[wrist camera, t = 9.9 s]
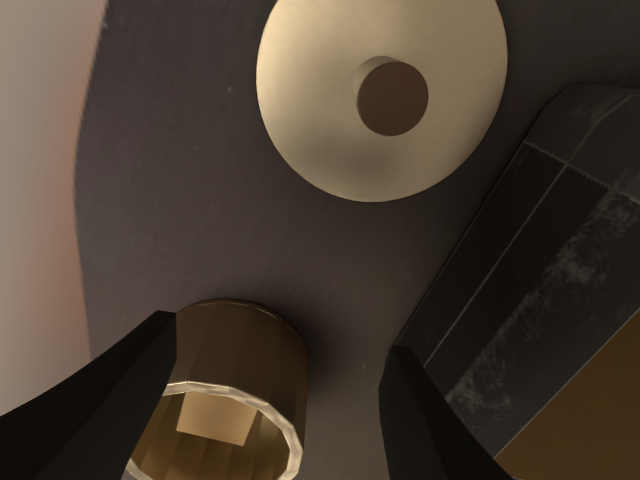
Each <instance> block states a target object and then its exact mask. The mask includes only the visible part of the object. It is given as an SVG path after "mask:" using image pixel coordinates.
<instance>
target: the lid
mask: <svg viewBox="0 0 640 480" xmlns="http://www.w3.org/2000/svg"><path fill="white" fill-rule="evenodd" d="M507 58H508V53H507V41H506V34H505V29H504V24H503V20H502V17H501V14H500V11H499V8H498V6H497V3H496V0H277V1H276V3H275V5H274V6H273V8H272V10H271V12H270V14H269V17H268V19H267V22H266V24H265V27H264V29H263V33H262V36H261V40H260V44H259V48H258V55H257V63H256V89H257V98H258V103H259V108H260V112H261V116H262V119H263V122H264V124H265V127H266V130H267V132H268V134H269V136H270V138H271V140H272V142H273V144H274V146H275V147H276V149H277V150H278V152H279V153H280V154H281V156H282V157H283V159H284V160H285V161H286V162H287V163H288V164H289V165H290V167H291V168H292V169H293V170H294V171H296V172H297V173H298V174H299V175H300V176H301V177H302V178H304V179H305V180H306V181H308V182H309V183H311V184H312V185H314V186H315V187H317V188H319V189H321V190H323V191H325V192H327V193H330V194H332V195H335V196H338V197H341V198H345V199H350V200H354V201H363V202H384V201H391V200H398V199H401V198H405V197H409V196H412V195H415V194H417V193H419V192H422V191H424V190H427V189H428V188H430V187H432V186H434V185H436V184H438V183H439V182H441V181H442V180H444V179H445V178H446V177H448V176H449V175H451V174H452V173H453V172H454V171H455V170H457V169H458V168H459V167H460V166H461V165H462V164H463V163H464V162H465V161H466V160H467V159H468V158H469V157H470V156H471V154H472V153H473V152H474V151H475V150H476V148H477V147H478V146H479V144H480V143H481V141H482V140H483V139H484V137H485V135H486V133H487V132H488V130H489V128H490V126H491V125H492V123H493V120H494V118H495V116H496V113H497V111H498V108H499V105H500V102H501V99H502V95H503V92H504V87H505V81H506V75H507Z"/></svg>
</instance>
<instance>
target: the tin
mask: <svg viewBox="0 0 640 480" xmlns="http://www.w3.org/2000/svg"><path fill="white" fill-rule="evenodd" d="M176 330H177V360H176V363H175V365H174V368H173V371H172V374H171V376H170V379H169V381H168V384H167V387H166V389H165V391H164V393H163V395H162V397H161V399H160V401H159V403H158V405H157V407H156V409H155V411H154V413H153V415H152V416H151V418H150V420H149V422H148V424H147V426H146V428H145V430H144V432H143V434H142V436H141V438H140V440H139V441H138V443H137V445H136V447H135V449H134V451H133V453H132V455H131V457H130V459H129V461H128V463H127V466H126V469H127V471H128V472H130V474H131V475H133V476H134V477H136V478H137V479H139V480H292V479H293V478H294V477H295V476H296V475H297V474H298V472H299V469H300V465H301V460H302V456H303V451H304V437H305V422H306V407H307V392H308V377H309V361H308V354H307V350H306V347H305V344H304V342H303V340H302V338H301V337H300V335H299V333H298V332H297V331H296V330H295V329H294V327H293V326H292V325H291V324H290V323H289V322H287V321H286V320H285V319H284V318H282V317H281V316H280V315H278V314H277V313H275V312H273V311H271V310H269V309H267V308H265V307H263V306H260V305H257V304H254V303H251V302H247V301H242V300H234V299H214V300H207V301H203V302H199V303H196V304H193V305H191V306H188V307H186V308H185V309H183V310H181V311H180V312H178V313H177V314H176ZM186 392H197V393H205V394H213V395H220V396H228V397H230V398H232V399H235V400H237V401H239V402H242V403H244V404H247V405H249V406H251V407H254V408H256V409H258V410H257V413H256V415H255V418H254V420H253V423H252V426H251V428H250V431H249V433H248V436H247V438H246V441H245V443H244V445H243V446H240V445H236V444H232V443H227V442H223V441H219V440H215V439H210V438H206V437H202V436H198V435H193V434H189V433H185V432H181V431H177V430H176V428H177V425H178V421H179V417H180V413H181V409H182V405H183V401H184V397H185V393H186Z"/></svg>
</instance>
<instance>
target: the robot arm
mask: <svg viewBox="0 0 640 480" xmlns="http://www.w3.org/2000/svg"><path fill="white" fill-rule="evenodd" d="M176 360H177V330H176V313H173V312H166V311H160V310H157V311H156V312H154V313H153V314H152V315H150V316H149V317H148V318H147V319H146V320H144V321H143V322H142V323H141V324H140V325H138V326H137V327H136V328H135V329H133V330H132V331H131V332H130V333H128V334H127V335H126V336H125V337H124V338H122V339H121V340H120V341H118V342H117V343H116V344H114V345H113V346H112V347H111V348H109V349H108V350H107V351H105V352H104V353H103V354H101V355H100V356H99V357H97V358H96V359H94V360H93V361H92V362H90V363H89V364H87V365H86V366H85V367H83V368H82V369H80V370H79V371H77V372H76V373H74V374H73V375H71V376H70V377H68V378H67V379H65V380H64V381H62V382H61V383H59V384H58V385H56V386H54V387H53V388H51V389H49V390H48V391H46V392H44V393H43V394H41V395H39V396H38V397H36V398H34V399H32V400H30V401H29V402H27V403H25V404H23V405H21V406H19V407H17V408H15V409H13V410H12V411H10V412H8V413H6V414H4V415H2V416H0V480H121V477H122V475H123V472H124V470H125V468H126V466H127V463H128V461H129V459H130V457H131V455H132V453H133V451H134V449H135V447H136V445H137V443H138V441H139V440H140V438H141V436H142V434H143V432H144V430H145V428H146V426H147V424H148V422H149V420H150V418H151V416H152V415H153V413H154V411H155V409H156V407H157V405H158V403H159V401H160V399H161V397H162V395H163V393H164V391H165V389H166V387H167V384H168V381H169V379H170V376H171V374H172V371H173V368H174V365H175V363H176ZM378 388H379V411H380V422H381V428H382V434H383V440H384V446H385V452H386V458H387V464H388V470H389V476H390V480H514V479H513V478H512V477H511V476H510V475H509V474H508V473H507V472H506V471H505V470H504V469H503V468H502V467H501V466H500V465H499V464H498V463H497V462H496V461H495V460H494V459H493V458H492V457H491V455H490V454H489V453H488V452H487V451H486V450H485V449H484V448H483V446H482V445H481V444H480V443H479V442H478V441H477V440H476V439H475V437H474V436H473V435H472V434H471V433H470V431H469V430H468V429H467V428H466V426H465V425H464V424H463V423H462V421H461V420H460V419H459V417H458V416H457V415H456V414H455V412H454V411H453V409H452V408H451V407H450V405H449V404H448V403H447V401H446V400H445V398H444V397H443V395H442V394H441V393H440V391H439V390H438V388H437V387H436V385H435V384H434V382H433V381H432V379H431V378H430V376H429V375H428V373H427V372H426V370H425V369H424V367H423V365H422V364H421V362H420V361H419V359H418V358H417V356H416V354H415V353H414V351H413V350H412V348H411V347H406V346H399V345H393V346H392V349H391V352H390V355H389V358H388V361H387V364H386V367H385V370H384V373H383V376H382V378H381V381H380V384H379V387H378Z"/></svg>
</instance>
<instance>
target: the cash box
mask: <svg viewBox="0 0 640 480" xmlns="http://www.w3.org/2000/svg"><path fill="white" fill-rule="evenodd" d="M394 345H399V346H406V347H411V348H412V350H413V351H414V353H415V354H416V356H417V358H418V359H419V361H420V362H421V364H422V365H423V367H424V369H425V370H426V372H427V373H428V375H429V376H430V378H431V379H432V381H433V382H434V384H435V385H436V387H437V388H438V390H439V391H440V393H441V394H442V395H443V397H444V398H445V400H446V401H447V403H448V404H449V405H450V407H451V408H452V409H453V411H454V412H455V414H456V415H457V416H458V417H459V419H460V420H461V421H462V423H463V424H464V425H465V426H466V428H467V429H468V430H469V431H470V433H471V434H472V435H473V436H474V437H475V439H476V440H477V441H478V442H479V443H480V444H481V445H482V446H483V448H484V449H485V450H486V451H487V452H488V453H489V454H490V455H491V457H492V458H493V459H494V460H495V461H496V462H497V463H498V464H499V465H500V466H501V467H502V468H503V469H504V470H505V471H506V472H507V473H508V474H509V475H510V476H511V477H512V478H513V479H514V480H640V90H638V89H633V88H627V87H621V86H615V85H609V84H574V85H571V86H569V87H567V88H566V89H565V90H564V91H563V92H562V93H560V94H559V95H558V96H557V97H556V98H554V99H553V100H552V101H551V102H550V103H549V104H547V105H546V106H545V107H544V109H543V110H542V112H541V114H540V115H539V117H538V118H537V120H536V122H535V123H534V125H533V126H532V128H531V129H530V131H529V133H528V134H527V136H526V137H525V139H524V140H523V142H522V143H521V145H520V146H519V148H518V150H517V151H516V153H515V154H514V156H513V158H512V159H511V161H510V162H509V164H508V165H507V167H506V169H505V170H504V172H503V173H502V175H501V177H500V178H499V180H498V181H497V183H496V184H495V186H494V188H493V189H492V191H491V192H490V194H489V195H488V197H487V199H486V200H485V202H484V203H483V205H482V207H481V208H480V210H479V211H478V213H477V214H476V216H475V218H474V219H473V221H472V222H471V224H470V226H469V227H468V229H467V230H466V232H465V233H464V235H463V237H462V238H461V240H460V241H459V243H458V244H457V246H456V248H455V249H454V251H453V252H452V254H451V256H450V257H449V259H448V260H447V262H446V263H445V265H444V267H443V268H442V270H441V271H440V273H439V275H438V276H437V278H436V279H435V281H434V282H433V284H432V286H431V287H430V289H429V290H428V292H427V293H426V295H425V297H424V298H423V300H422V301H421V303H420V305H419V306H418V308H417V309H416V311H415V312H414V314H413V316H412V317H411V319H410V320H409V322H408V324H407V325H406V327H405V328H404V330H403V331H402V333H401V335H400V336H399V338H398V339H397V341H396V343H395V344H394ZM390 352H391V351H390ZM390 352H389V354H388V355H387V357H386V360H385V367H386V364H387V361H388V358H389V355H390Z"/></svg>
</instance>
